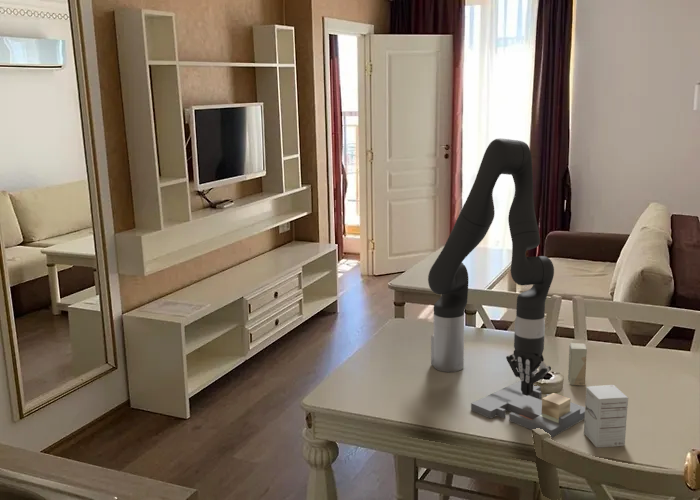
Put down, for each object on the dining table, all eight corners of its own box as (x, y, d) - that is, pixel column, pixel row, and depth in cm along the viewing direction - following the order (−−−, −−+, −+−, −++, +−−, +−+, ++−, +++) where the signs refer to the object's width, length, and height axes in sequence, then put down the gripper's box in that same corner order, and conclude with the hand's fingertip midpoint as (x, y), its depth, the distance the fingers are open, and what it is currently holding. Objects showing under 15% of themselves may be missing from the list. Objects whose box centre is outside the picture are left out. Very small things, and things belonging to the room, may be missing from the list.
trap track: (471, 410, 184) (471, 398, 183) (521, 386, 198) (521, 375, 197) (545, 441, 167) (545, 428, 166) (594, 413, 181) (595, 400, 180)
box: (585, 386, 197) (587, 349, 195) (569, 385, 198) (571, 348, 195) (583, 378, 202) (584, 343, 200) (567, 377, 203) (569, 342, 200)
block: (541, 412, 177) (542, 398, 176) (552, 406, 180) (553, 392, 179) (558, 419, 173) (559, 404, 173) (569, 413, 177) (570, 398, 176)
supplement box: (582, 433, 170) (585, 385, 168) (611, 431, 171) (614, 383, 168) (595, 448, 163) (598, 398, 160) (625, 446, 164) (629, 396, 161)
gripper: (560, 335, 176) (556, 398, 180) (517, 322, 186) (514, 382, 190) (542, 342, 171) (539, 406, 175) (499, 329, 181) (497, 390, 185)
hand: (526, 394), depth 183 cm, fingers closed
